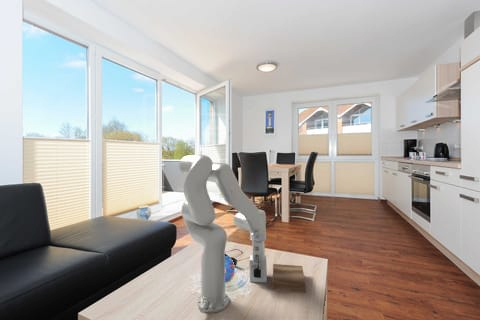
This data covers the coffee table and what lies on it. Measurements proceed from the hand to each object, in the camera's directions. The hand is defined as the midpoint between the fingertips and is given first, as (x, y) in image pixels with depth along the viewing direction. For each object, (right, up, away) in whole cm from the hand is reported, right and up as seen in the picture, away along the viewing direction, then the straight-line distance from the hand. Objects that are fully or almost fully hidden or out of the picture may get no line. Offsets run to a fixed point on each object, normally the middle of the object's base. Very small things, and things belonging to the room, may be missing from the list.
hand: (258, 271), depth 108 cm
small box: (0, -4, 0) cm, 4 cm away
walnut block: (+14, -4, -3) cm, 14 cm away
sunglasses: (-9, -4, +20) cm, 23 cm away
